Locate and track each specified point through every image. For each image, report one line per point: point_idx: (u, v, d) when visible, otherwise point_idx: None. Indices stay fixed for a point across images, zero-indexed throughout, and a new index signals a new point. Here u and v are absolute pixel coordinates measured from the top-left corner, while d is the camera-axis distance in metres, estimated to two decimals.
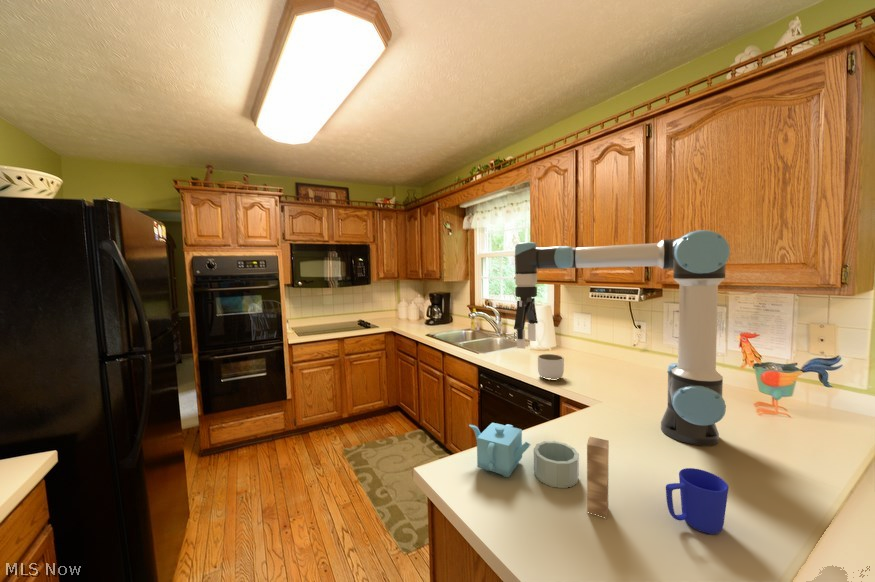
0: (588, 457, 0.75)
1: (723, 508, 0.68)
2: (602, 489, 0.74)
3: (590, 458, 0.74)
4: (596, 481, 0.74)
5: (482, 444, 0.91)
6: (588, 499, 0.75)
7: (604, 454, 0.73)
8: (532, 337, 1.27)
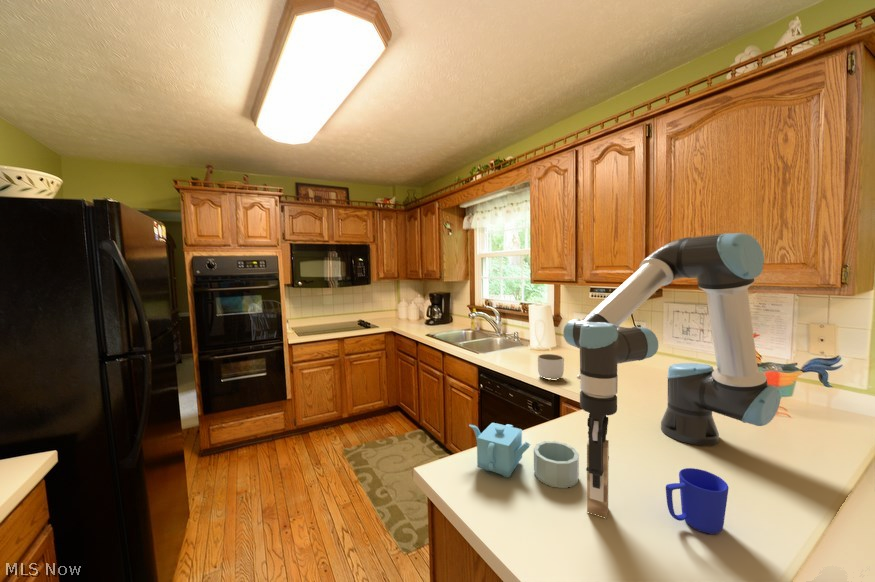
0: (588, 457, 0.75)
1: (723, 508, 0.68)
2: None
3: None
4: None
5: (482, 444, 0.91)
6: (588, 499, 0.75)
7: (604, 454, 0.73)
8: None
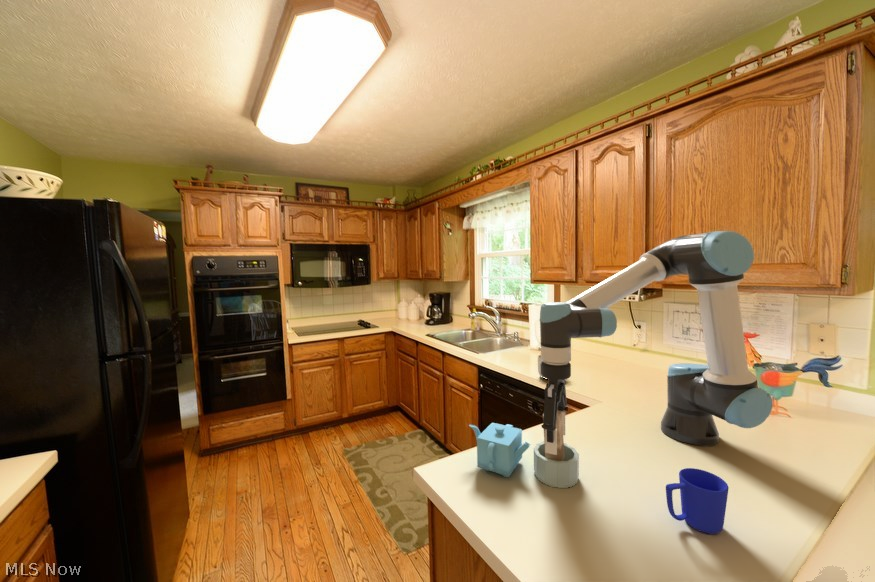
0: None
1: (723, 508, 0.68)
2: (557, 452, 0.87)
3: None
4: None
5: (482, 444, 0.91)
6: None
7: (556, 422, 0.86)
8: None
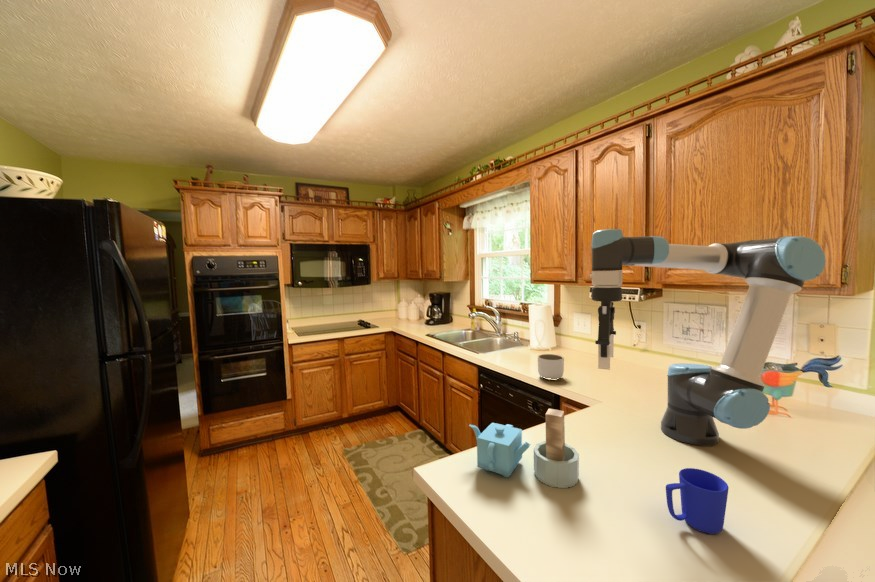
0: (546, 425, 0.88)
1: (723, 508, 0.68)
2: (558, 452, 0.87)
3: (548, 425, 0.88)
4: (553, 444, 0.88)
5: (482, 444, 0.91)
6: None
7: (559, 421, 0.86)
8: (609, 352, 0.99)
